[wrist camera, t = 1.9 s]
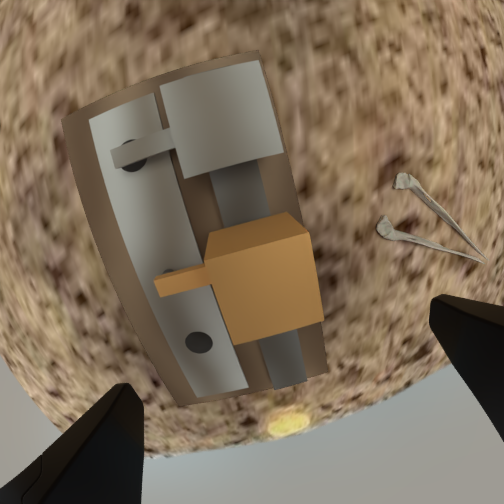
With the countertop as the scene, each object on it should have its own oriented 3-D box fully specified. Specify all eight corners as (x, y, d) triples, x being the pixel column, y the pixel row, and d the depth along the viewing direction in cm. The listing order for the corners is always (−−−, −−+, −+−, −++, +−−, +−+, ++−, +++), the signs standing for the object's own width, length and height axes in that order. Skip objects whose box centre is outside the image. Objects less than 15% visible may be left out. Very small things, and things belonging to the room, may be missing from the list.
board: (256, 56, 14) (269, 17, 9) (323, 362, 21) (345, 411, 16) (70, 121, 14) (19, 113, 9) (180, 396, 21) (173, 447, 16)
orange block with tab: (283, 208, 15) (309, 232, 11) (298, 275, 16) (324, 320, 12) (149, 246, 15) (121, 283, 11) (174, 308, 16) (159, 361, 12)
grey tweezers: (368, 230, 19) (384, 238, 17) (392, 167, 17) (409, 170, 16) (479, 284, 23) (491, 292, 21) (495, 244, 22) (508, 250, 20)
